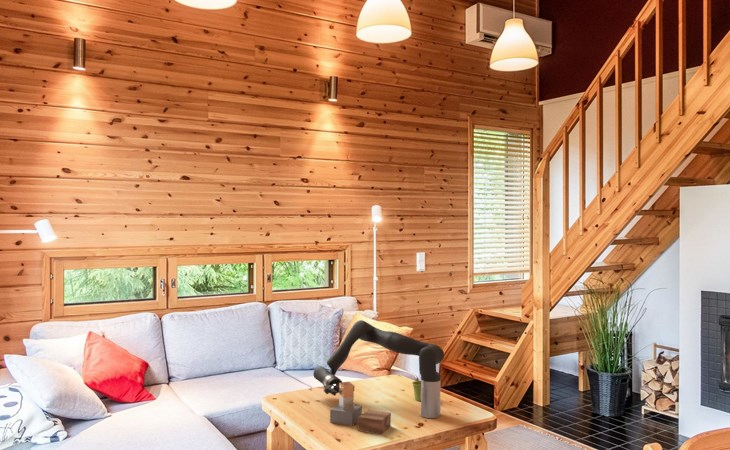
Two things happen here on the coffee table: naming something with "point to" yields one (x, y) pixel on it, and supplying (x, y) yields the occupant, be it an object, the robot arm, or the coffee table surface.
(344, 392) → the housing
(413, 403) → the coffee table surface
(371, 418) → the stand
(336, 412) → the stand
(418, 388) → the plant pot
